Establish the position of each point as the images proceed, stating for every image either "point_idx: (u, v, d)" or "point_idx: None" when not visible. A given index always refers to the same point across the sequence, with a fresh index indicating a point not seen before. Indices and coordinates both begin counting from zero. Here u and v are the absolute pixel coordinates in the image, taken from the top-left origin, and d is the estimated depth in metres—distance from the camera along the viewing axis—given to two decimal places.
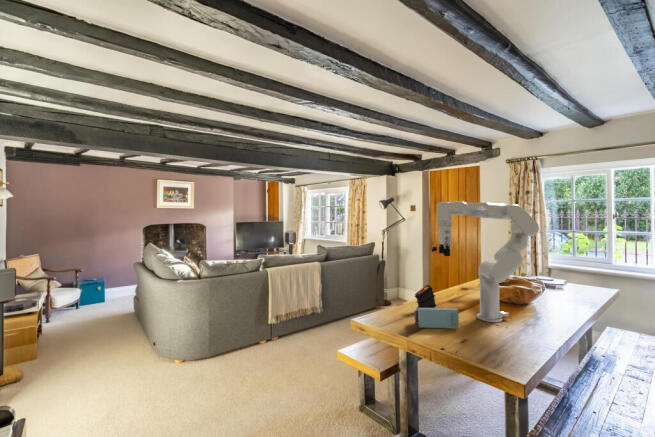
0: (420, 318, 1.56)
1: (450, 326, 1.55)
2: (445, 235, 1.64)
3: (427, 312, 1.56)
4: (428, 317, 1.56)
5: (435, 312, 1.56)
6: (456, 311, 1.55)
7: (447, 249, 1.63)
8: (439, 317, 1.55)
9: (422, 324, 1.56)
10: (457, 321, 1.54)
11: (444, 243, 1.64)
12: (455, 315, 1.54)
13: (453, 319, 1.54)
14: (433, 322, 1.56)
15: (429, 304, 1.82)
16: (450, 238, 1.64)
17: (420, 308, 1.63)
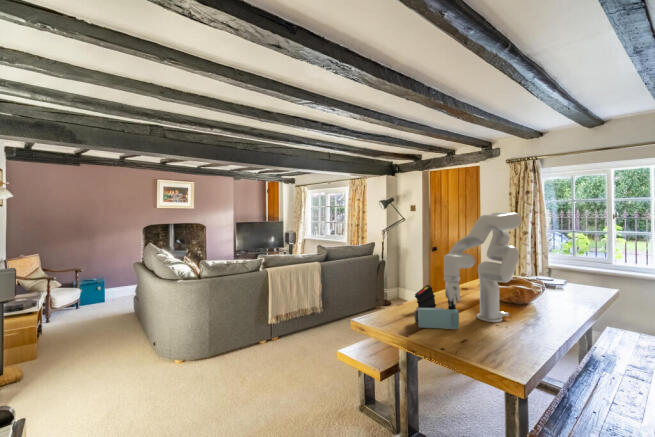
0: (420, 318, 1.56)
1: (450, 327, 1.54)
2: (453, 292, 1.52)
3: (427, 312, 1.56)
4: (428, 317, 1.56)
5: (435, 313, 1.55)
6: (456, 312, 1.54)
7: (452, 307, 1.55)
8: (439, 317, 1.55)
9: (422, 324, 1.56)
10: (457, 322, 1.53)
11: (450, 301, 1.55)
12: (455, 316, 1.53)
13: (453, 320, 1.53)
14: (433, 322, 1.55)
15: (429, 304, 1.82)
16: (458, 295, 1.52)
17: (420, 308, 1.63)
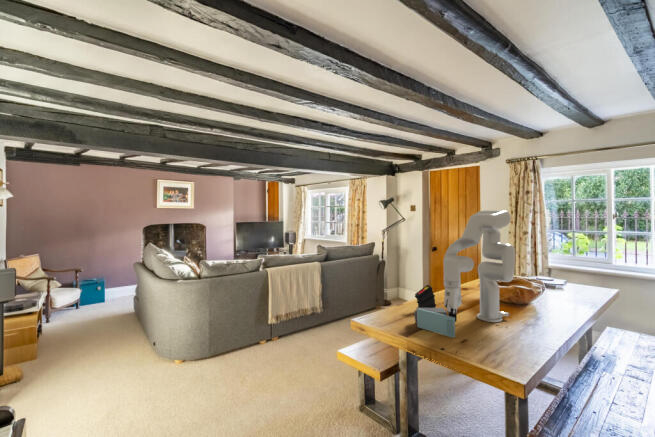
0: (418, 318, 1.57)
1: (446, 334, 1.46)
2: (446, 297, 1.44)
3: (424, 313, 1.54)
4: (425, 319, 1.54)
5: (431, 315, 1.51)
6: (452, 319, 1.44)
7: (451, 314, 1.46)
8: (435, 321, 1.50)
9: (420, 324, 1.56)
10: (451, 330, 1.43)
11: None
12: (449, 323, 1.44)
13: (447, 327, 1.44)
14: (429, 325, 1.52)
15: (429, 304, 1.82)
16: (452, 302, 1.42)
17: (420, 308, 1.63)
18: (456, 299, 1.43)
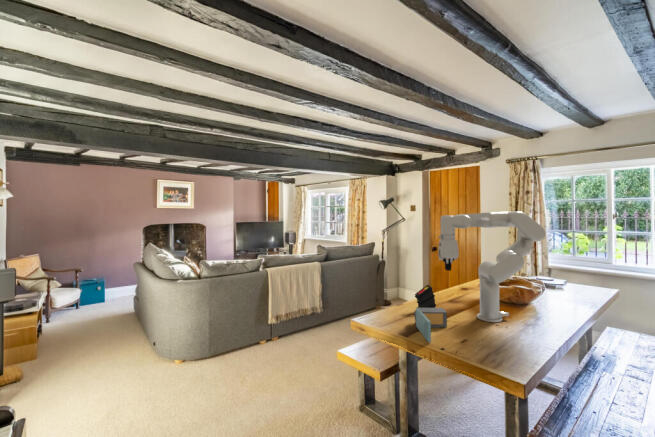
0: (416, 317, 1.58)
1: None
2: (439, 248, 1.69)
3: (418, 314, 1.54)
4: (418, 319, 1.53)
5: (420, 316, 1.50)
6: (427, 323, 1.40)
7: (445, 263, 1.69)
8: (421, 323, 1.48)
9: (417, 324, 1.57)
10: (425, 333, 1.40)
11: None
12: (424, 326, 1.40)
13: (424, 330, 1.42)
14: (420, 326, 1.51)
15: (429, 304, 1.82)
16: (441, 251, 1.67)
17: (420, 308, 1.63)
18: (447, 250, 1.66)
